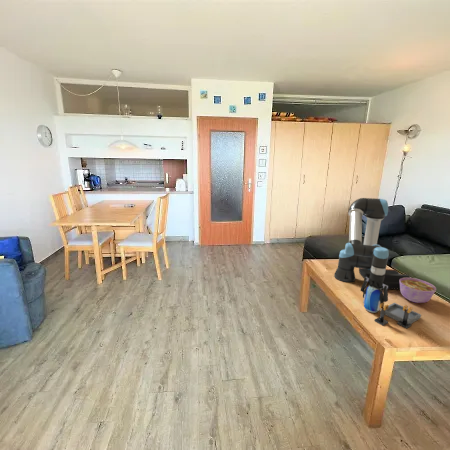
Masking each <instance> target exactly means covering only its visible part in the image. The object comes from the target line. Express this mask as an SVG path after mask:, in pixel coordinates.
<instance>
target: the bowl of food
mask: <svg viewBox="0 0 450 450" xmlns="http://www.w3.org/2000/svg"><path fill="white" fill-rule="evenodd" d="M399 282H400V294H401V295H402V296H403V297H404V298H405V299H407V300H408V301H409V302H412V303H415V304H421V303H428V302H430V300H431V299H432V297H433V296H434V294H435V292H436V291H437V287H436V286H435V285H434V284H432V283H430V282H428V281H425V280H424V279H423V280H422V279H419V278H416V277H410V278H401V279H400V280H399Z"/></svg>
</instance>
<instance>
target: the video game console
mask: <svg viewBox="0 0 450 450" xmlns="http://www.w3.org/2000/svg"><path fill="white" fill-rule="evenodd" d="M358 271H359V272H358V273H359V275H360V276H362V277H363V279H364V278H365V277H368V278H370V272H371V270H368V269H362V268H358ZM384 275H385V277H384V281H383V283H384V284H385V285H388V286H389V287H388V290H397V291H398V290H400V282H399V280H400V279H401V278H411V276H409V274H406V273H405V274H404V273H403V274H402V273H400V272H399V271H397V269H389V268H386V271H385V274H384ZM368 284H370V282H369V281H368ZM383 289H384V288H383V286H382V290H383Z"/></svg>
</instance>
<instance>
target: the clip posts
mask: <svg viewBox="0 0 450 450" xmlns="http://www.w3.org/2000/svg"><path fill="white" fill-rule="evenodd" d="M389 305H390V304H385V302H384V303H381V304H380V307H379V308H381V310H380V315H379V317H377V318H375V319H374V322H375V323H377V324H379V325H381V326H385V325H388V324H389V321H388V320H386V319H385V316H386V315H385V310H387V309H388V306H389ZM402 306H403V311H405V313H404V317H403V322H402V321H399V322H398V321H396V322H397V323H396V324H397V325H399V327H400V326H401V327H402V328H404V329H406V330H407V329H409V328H410V327H412V324H413V323H412V324H407V320H408V315H409V313H410V312H412V311H413V307H412V306H411V307H408V305H407V304H405V305H402ZM407 308H408V310H407Z"/></svg>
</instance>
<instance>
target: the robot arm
mask: <svg viewBox="0 0 450 450" xmlns="http://www.w3.org/2000/svg"><path fill="white" fill-rule="evenodd" d="M388 213H389V204H388V200H387V199H384V198H372V197H371V198H370V197H361V198H358V199H355V200H354V201H353V202H352V203H351V204H350V206H349V207H348V216H349V229H348V231H349V232H348V235H349V236H348V242H347V243H345V247H344V248H343V249H341V250H340V251H339V255H338V262H337V268H336V270H335V272H334V275H333V277H334V278H335V279H336V280H338V281H340V282H344V283H353V282H355V281H356V275H355V268H357V269H359V268H362V269H368V270H371V272H370V278H368V277H365V278H364V277H363V283H362V285H361V288H360V292H362V293H363V294H362V298H363V301H362V304H364V302H365V296H366V290H367V287H368V286H372V287H375V288H377V289H378V290H379V291H380V300H379V303H378V308H377V310H378V312H379V311H381V308H379V307H380V304H381V303H384V304H385V303H386V302H388V301H389V289H388V287H389V286H388V285H385V284H384V283H383V281H384V277H385V275H384V274H385V271H386V269H387V264H388V259H389V257H390V256H389V253H390V251H389V249H388V248H386V247H382V246H381V245H380V244H378V239H379V233H380V229H381V223H382V221H383V220H384V219H385V217H387V216H388ZM364 215H365V218H366V219H367V220H366V227H365V233H364V238H362V237H363V235H362V233H363V230H362V229H363V226H362V225H363V223H362V222H363V216H364ZM368 281H369V282H370V283H369V282H368ZM382 286H383V288H384V289H382ZM382 291H383V292H382ZM381 292H382V293H381Z"/></svg>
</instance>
